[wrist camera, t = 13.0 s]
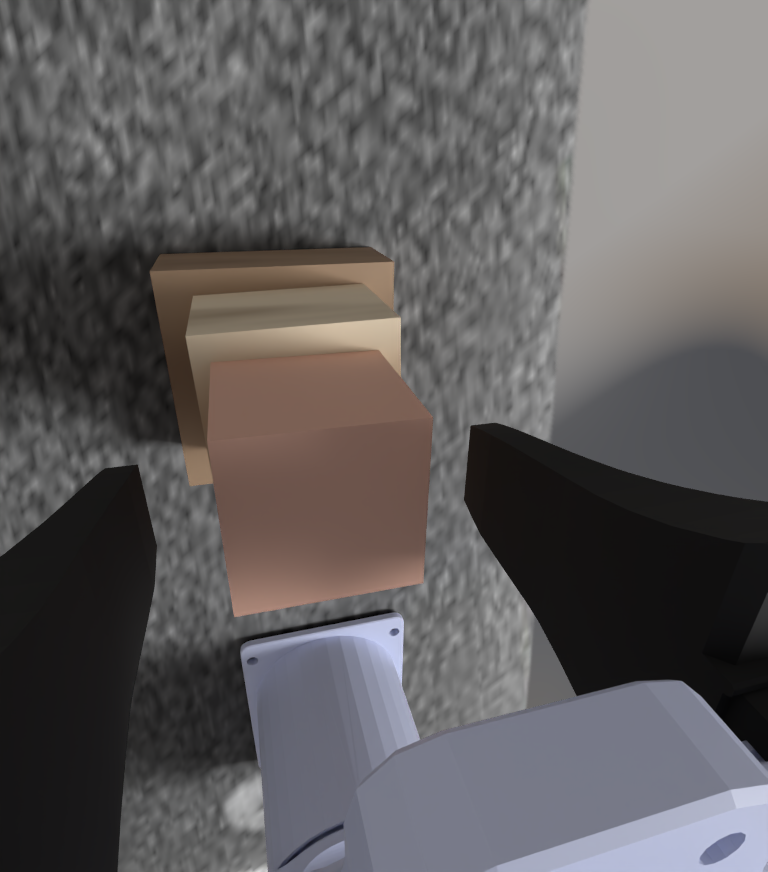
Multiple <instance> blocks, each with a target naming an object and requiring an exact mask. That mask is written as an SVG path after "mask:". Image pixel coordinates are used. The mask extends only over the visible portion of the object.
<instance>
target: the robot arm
mask: <svg viewBox="0 0 768 872" xmlns="http://www.w3.org/2000/svg"><path fill="white" fill-rule="evenodd" d="M464 501H465V503H466V505H467V507H468V509H469V512H470V514H471V516H472V518H473V520H474V522H475V524H476V526H477V528H478V530H479V532H480V534H481V536H482V537H483V539H484V540H485V542H486V543H487V545H488V546H489V548H490V549H491V551H492V552H493V554H494V555H495V557H496V558H497V560H498V561H499V563H500V564H501V566H502V567H503V569H504V570H505V572H506V573H507V575H508V576H509V577H510V579H511V580H512V582H513V583H514V585H515V586H516V588H517V589H518V591H519V592H520V594H521V595H522V597H523V598H524V599H525V601H526V602H527V604H528V605H529V607H530V609H531V610H532V612H533V613H534V615H535V617H536V618H537V620H538V621H539V623H540V625H541V627H542V629H543V630H544V633H545V634H546V636H547V638H548V640H549V642H550V644H551V646H552V648H553V650H554V651H555V653H556V655H557V657H558V659H559V661H560V663H561V665H562V667H563V669H564V671H565V673H566V675H567V677H568V679H569V681H570V683H571V685H572V687H573V689H574V691H575V693H576V695H577V696H576V697H572V698H568V699H565V700H561V701H556V702H552V703H548V704H545V705H541V706H537V707H533V708H529V709H525V710H521V711H517V712H513V713H509V714H505V715H501V716H497V717H494V718H490V719H486V720H482V721H478V722H474V723H470V724H466V725H462V726H458V727H454V728H450V729H446V730H443V731H440V732H437V733H435V734H433V735H430V736H428V737H426V738H423V739H421V740H420V738H419V735H418V732H417V729H416V726H415V723H414V720H413V717H412V714H411V711H410V708H409V706H408V703H407V700H406V697H405V694H404V691H403V688H402V660H403V629H404V621H403V618H402V616H401V615H400V614H399V613H396V612H395V613H388V614H383V615H378V616H373V617H368V618H363V619H357V620H352V621H347V622H342V623H337V624H332V625H327V626H322V627H317V628H312V629H307V630H301V631H296V632H291V633H286V634H281V635H276V636H271V637H266V638H261V639H256V640H251V641H247V642H245V643H244V644H243V645H242V646H241V648H240V655H241V662H242V668H243V674H244V680H245V686H246V692H247V698H248V704H249V710H250V716H251V723H252V729H253V735H254V741H255V747H256V753H257V759H258V765H259V767H260V768H261V776H262V791H263V806H264V821H265V835H266V850H267V865H268V872H768V502H764V501H757V500H750V499H742V498H737V497H730V496H725V495H718V494H713V493H708V492H704V491H699V490H694V489H689V488H684V487H680V486H676V485H671V484H667V483H663V482H659V481H656V480H652V479H649V478H645V477H642V476H638V475H635V474H631V473H628V472H625V471H622V470H618V469H616V468H612V467H610V466H607V465H604V464H601V463H599V462H596V461H593V460H590V459H588V458H585V457H583V456H580V455H577V454H575V453H572V452H570V451H567V450H565V449H562V448H560V447H558V446H555V445H553V444H550V443H548V442H546V441H543V440H541V439H538V438H536V437H533V436H531V435H529V434H526V433H524V432H521V431H519V430H516V429H513V428H511V427H508V426H505V425H502V424H498V423H489V424H481V425H472V426H471V429H470V440H469V451H468V462H467V473H466V484H465V495H464ZM156 551H157V545H156V541H155V536H154V532H153V528H152V524H151V519H150V515H149V511H148V507H147V502H146V498H145V494H144V489H143V485H142V481H141V477H140V472H139V468H138V465H131V466H122V467H114V468H105V469H104V470H102V471H101V472H100V473H99V474H97V475H96V476H95V477H94V478H93V479H92V480H90V481H89V482H88V483H87V484H86V485H85V486H84V487H83V488H82V489H81V490H79V491H78V492H77V493H76V494H75V495H74V496H73V497H72V498H71V499H70V500H68V501H67V502H66V503H65V504H64V505H63V506H62V507H61V508H59V509H58V510H57V511H56V512H55V513H54V514H53V515H52V516H50V517H49V518H48V519H47V520H46V521H45V522H44V523H42V524H41V525H40V526H39V527H37V528H36V529H35V530H34V531H32V532H31V533H30V534H29V535H27V536H26V537H25V538H24V539H22V540H21V541H20V542H19V543H17V544H16V545H15V546H14V547H12V548H11V549H10V550H9V551H7V552H6V553H5V554H4V555H2V556H1V557H0V872H117V869H118V853H119V836H120V820H121V807H122V795H123V782H124V769H125V758H126V747H127V737H128V726H129V716H130V708H131V701H132V695H133V689H134V684H135V679H136V674H137V669H138V665H139V660H140V655H141V650H142V646H143V641H144V636H145V632H146V627H147V622H148V617H149V612H150V607H151V602H152V597H153V592H154V585H155V571H156ZM394 628H395V629H394ZM392 629H394V630H392ZM252 657H255V658H253V659H249V658H252Z"/></svg>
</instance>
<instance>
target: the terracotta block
mask: <svg viewBox="0 0 768 872" xmlns="http://www.w3.org/2000/svg"><path fill="white" fill-rule="evenodd" d="M432 427H433V417H432V416H431V414H430V413H429V412H428V411H427V409H426V408H425V407H424V406H423V404H422V403H421V402H420V401H419V399H418V398H417V397H416V396H415V394H414V393H413V392H412V391H411V389H410V388H409V387H408V386H407V385H406V383H405V382H404V381H403V380H402V378H401V377H400V376H399V375H398V373H397V372H396V371H395V370H394V368H393V367H392V366H391V365H390V363H389V362H388V361H387V360H386V358H385V357H384V356H383V355H382V353H381V352H380V351H379V350H373V351H359V352H345V353H332V354H318V355H304V356H290V357H277V358H263V359H249V360H235V361H222V362H211V365H210V387H209V409H208V432H207V444H208V451H209V457H210V464H211V470H212V477H213V483H214V489H215V496H216V502H217V509H218V515H219V522H220V528H221V535H222V541H223V548H224V554H225V560H226V567H227V573H228V580H229V586H230V593H231V599H232V606H233V612H234V617H238V616H244V615H249V614H255V613H260V612H266V611H271V610H277V609H282V608H288V607H293V606H299V605H304V604H310V603H315V602H321V601H327V600H332V599H338V598H343V597H349V596H354V595H360V594H365V593H371V592H376V591H382V590H387V589H393V588H398V587H404V586H409V585H415V584H420V583H423V576H424V560H425V543H426V526H427V510H428V493H429V477H430V460H431V444H432Z"/></svg>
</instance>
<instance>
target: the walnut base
mask: <svg viewBox="0 0 768 872" xmlns="http://www.w3.org/2000/svg"><path fill="white" fill-rule="evenodd" d="M150 276H151V281H152V287H153V292H154V297H155V303H156V308H157V313H158V319H159V324H160V329H161V335H162V340H163V345H164V351H165V356H166V362H167V367H168V372H169V378H170V383H171V388H172V394H173V399H174V404H175V410H176V415H177V420H178V426H179V431H180V436H181V442H182V447H183V452H184V458H185V463H186V469H187V474H188V479H189V485H190V486H195V485H203V484H211V483H213V478H212V473H211V468H210V463H209V457H208V452H207V447H206V442H205V436H204V431H203V426H202V421H201V415H200V410H199V405H198V400H197V394H196V389H195V384H194V379H193V373H192V368H191V363H190V358H189V352H188V347H187V342H186V337H185V336H186V331H187V325H188V320H189V315H190V309H191V304H192V299H193V296H197V295H211V294H225V293H239V292H252V291H266V290H280V289H294V288H308V287H322V286H336V285H350V284H365V285H366V286H367V287H368V288H369V289H370V290H371V291H372V292H373V293H374V294H375V295H377V296H378V297H379V298H380V299H381V300H382V301H383V302H384V303H385V304H386V305H388V306H389V307H390V308H391V309H392V310H393V299H394V261H392V260H391V259H389V258H387V257H386V256H384V255H383V254H381V253H379V252H378V251H376V250H375V249H373V248H371V247H359V248H329V249H298V250H268V251H238V252H208V253H177V254H160V255H159V257H158V258H157V260H156V262H155V263H154V265H153V267H152V268H151V270H150Z"/></svg>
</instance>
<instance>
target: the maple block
mask: <svg viewBox="0 0 768 872" xmlns="http://www.w3.org/2000/svg"><path fill="white" fill-rule="evenodd" d="M185 337H186V342H187V347H188V352H189V358H190V363H191V368H192V373H193V379H194V384H195V389H196V394H197V400H198V405H199V410H200V415H201V421H202V426H203V431H204V436H205V442H206V447H207V452H208V457H209V451H208V444H207V432H208V409H209V387H210V365H211V362H222V361H235V360H249V359H263V358H277V357H290V356H304V355H318V354H332V353H345V352H359V351H373V350H379V351H380V352H381V353H382V355H383V356H384V357H385V358H386V360H387V361H388V362H389V363H390V365H391V366H392V367H393V368H394V370H395V371H396V372H397V373H398V375H399V376H400V377H401V317H400V316H399V315H397V314H396V313H395V312H394V311H393V310H392V309H391V308H390V307H389V306H388V305H386V304H385V303H384V302H383V301H382V300H381V299H380V298H379V297H378V296H377V295H375V294H374V293H373V292H372V291H371V290H370V289H369V288H368V287H367V286H366V285H365V284H350V285H336V286H322V287H308V288H294V289H280V290H266V291H252V292H239V293H225V294H211V295H197V296H193V299H192V304H191V309H190V315H189V320H188V325H187V331H186V336H185ZM209 463H210V457H209ZM210 468H211V464H210ZM211 473H212V470H211ZM212 478H213V477H212ZM213 484H214V483H213Z"/></svg>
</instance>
